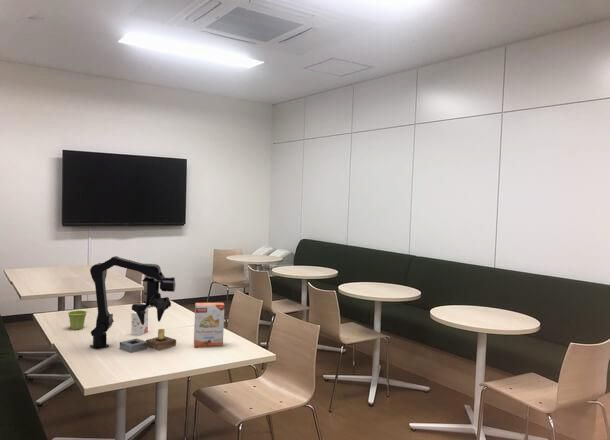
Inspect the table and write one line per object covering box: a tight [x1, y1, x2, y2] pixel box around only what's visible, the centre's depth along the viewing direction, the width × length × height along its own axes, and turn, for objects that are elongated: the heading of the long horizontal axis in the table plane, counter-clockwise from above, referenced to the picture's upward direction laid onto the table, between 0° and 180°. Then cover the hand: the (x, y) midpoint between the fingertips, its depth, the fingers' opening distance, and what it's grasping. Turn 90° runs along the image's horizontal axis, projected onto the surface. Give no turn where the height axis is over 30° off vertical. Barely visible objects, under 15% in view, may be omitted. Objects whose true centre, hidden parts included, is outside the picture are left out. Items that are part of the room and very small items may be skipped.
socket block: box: [119, 337, 149, 354], centre depth 223 cm, size 9×9×3 cm
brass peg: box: [157, 328, 165, 342], centre depth 228 cm, size 3×3×8 cm
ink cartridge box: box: [130, 308, 149, 336], centre depth 248 cm, size 9×5×15 cm, turn 168°
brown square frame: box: [145, 335, 177, 351], centre depth 228 cm, size 10×10×3 cm
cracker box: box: [193, 302, 225, 348], centre depth 232 cm, size 14×6×21 cm, turn 105°
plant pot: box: [67, 310, 88, 331], centre depth 253 cm, size 9×9×9 cm
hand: (150, 323), depth 226 cm, fingers open, 9 cm apart
